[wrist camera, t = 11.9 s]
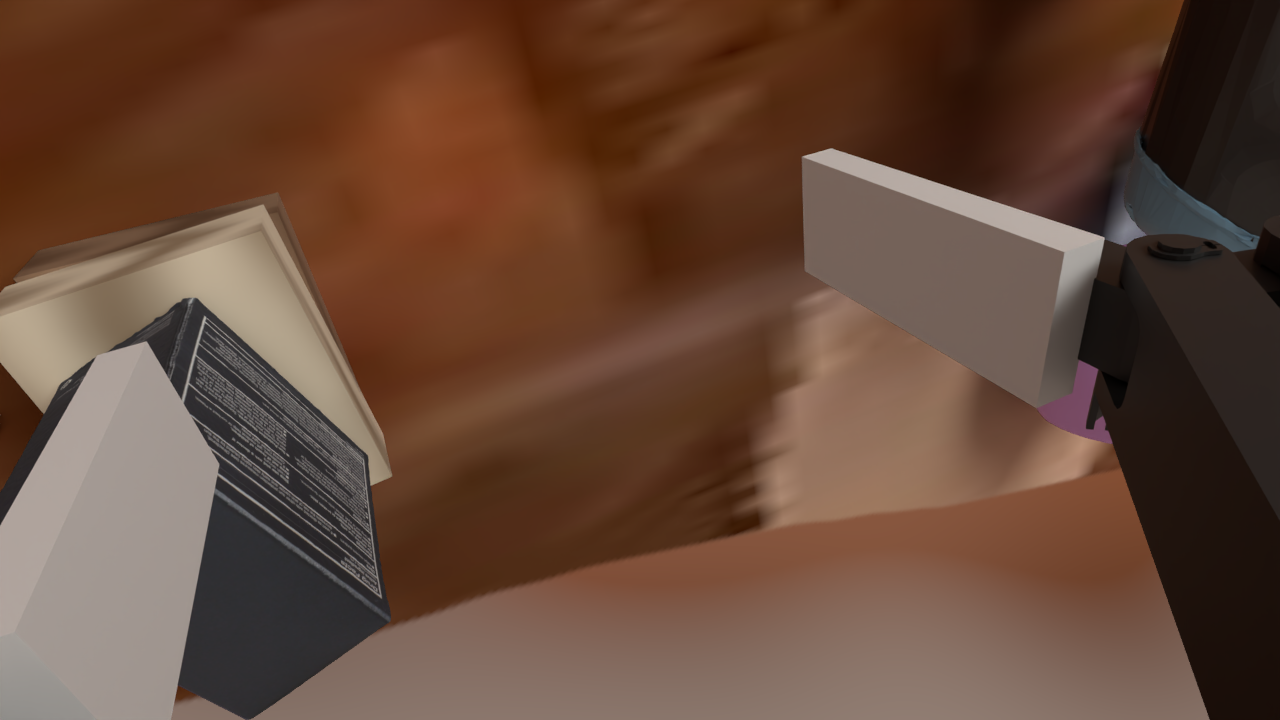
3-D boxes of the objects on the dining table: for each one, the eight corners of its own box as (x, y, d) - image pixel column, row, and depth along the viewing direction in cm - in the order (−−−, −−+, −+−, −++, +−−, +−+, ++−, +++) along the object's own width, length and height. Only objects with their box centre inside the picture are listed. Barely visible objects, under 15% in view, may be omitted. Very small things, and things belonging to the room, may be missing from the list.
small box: (44, 388, 27) (-71, 581, 18) (192, 288, 27) (148, 432, 19) (255, 538, 33) (243, 734, 24) (373, 455, 33) (401, 619, 25)
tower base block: (278, 190, 34) (277, 212, 31) (369, 408, 41) (376, 444, 38) (41, 247, 31) (13, 278, 28) (180, 471, 38) (171, 516, 35)
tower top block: (263, 204, 31) (261, 230, 27) (383, 433, 38) (392, 476, 34) (5, 286, 28) (-31, 326, 25) (185, 516, 35) (175, 569, 32)
